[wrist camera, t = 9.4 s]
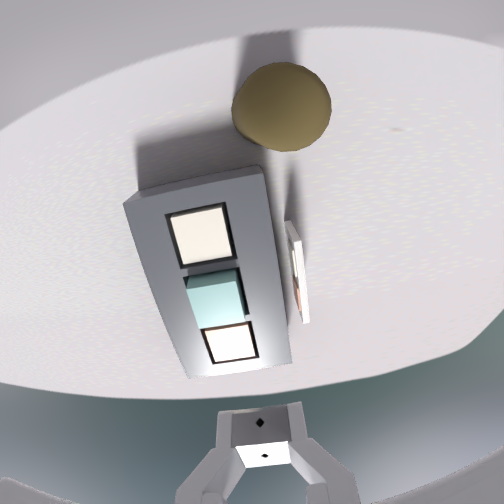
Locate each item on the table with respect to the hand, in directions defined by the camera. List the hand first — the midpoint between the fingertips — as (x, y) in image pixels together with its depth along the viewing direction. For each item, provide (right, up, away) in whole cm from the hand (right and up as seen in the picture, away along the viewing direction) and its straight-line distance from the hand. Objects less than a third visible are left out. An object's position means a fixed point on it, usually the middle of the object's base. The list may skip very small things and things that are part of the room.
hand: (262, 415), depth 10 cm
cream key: (-4, +8, +16) cm, 19 cm away
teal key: (-3, +3, +17) cm, 18 cm away
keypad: (-4, +4, +20) cm, 20 cm away
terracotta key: (-3, -2, +21) cm, 21 cm away
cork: (+1, +18, +14) cm, 23 cm away
